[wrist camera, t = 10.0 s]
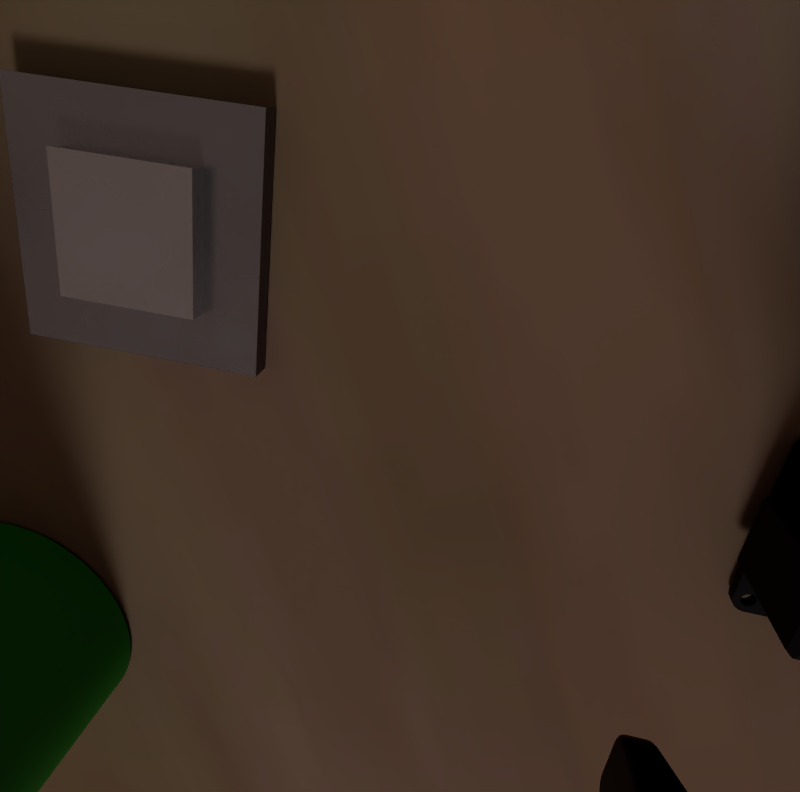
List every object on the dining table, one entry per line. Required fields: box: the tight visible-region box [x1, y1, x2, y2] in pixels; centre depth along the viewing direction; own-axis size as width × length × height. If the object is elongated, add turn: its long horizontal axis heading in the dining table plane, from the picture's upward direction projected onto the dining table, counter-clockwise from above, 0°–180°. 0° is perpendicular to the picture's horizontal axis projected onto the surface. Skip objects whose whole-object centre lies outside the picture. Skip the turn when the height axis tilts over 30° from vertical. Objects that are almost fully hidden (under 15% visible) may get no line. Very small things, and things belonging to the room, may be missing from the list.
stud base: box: [0, 69, 276, 377], centre depth 19 cm, size 8×8×2 cm
